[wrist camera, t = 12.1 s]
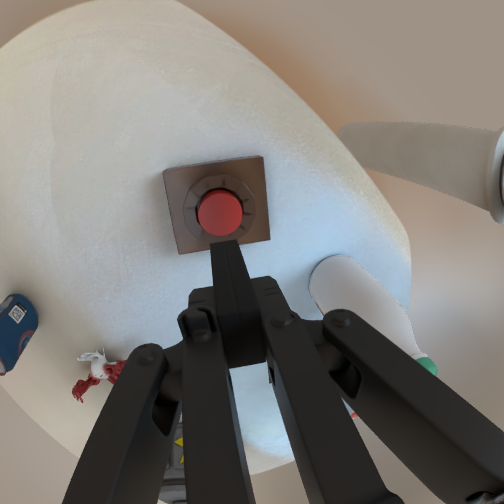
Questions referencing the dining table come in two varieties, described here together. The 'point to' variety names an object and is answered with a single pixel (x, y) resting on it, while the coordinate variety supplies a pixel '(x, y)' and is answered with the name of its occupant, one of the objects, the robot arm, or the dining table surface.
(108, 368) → the figurine
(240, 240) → the button block
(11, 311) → the soda can
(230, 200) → the button
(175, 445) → the decorative lamp
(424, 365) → the milk bottle
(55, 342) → the dining table surface
